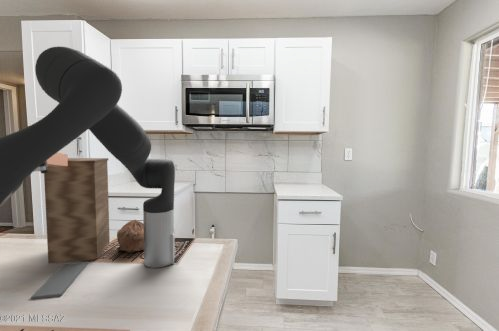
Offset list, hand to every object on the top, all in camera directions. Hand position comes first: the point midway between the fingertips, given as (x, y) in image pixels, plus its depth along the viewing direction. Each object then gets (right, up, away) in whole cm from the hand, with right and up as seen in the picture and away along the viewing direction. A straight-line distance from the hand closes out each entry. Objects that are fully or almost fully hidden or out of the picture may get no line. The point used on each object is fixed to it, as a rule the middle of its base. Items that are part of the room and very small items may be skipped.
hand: (30, 150), depth 62 cm
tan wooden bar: (-1, -3, +5) cm, 6 cm away
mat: (0, -36, +10) cm, 37 cm away
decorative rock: (+10, -34, +32) cm, 48 cm away
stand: (-6, -34, +28) cm, 45 cm away
